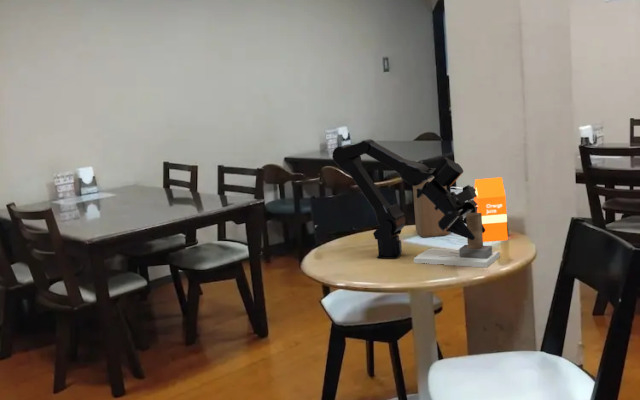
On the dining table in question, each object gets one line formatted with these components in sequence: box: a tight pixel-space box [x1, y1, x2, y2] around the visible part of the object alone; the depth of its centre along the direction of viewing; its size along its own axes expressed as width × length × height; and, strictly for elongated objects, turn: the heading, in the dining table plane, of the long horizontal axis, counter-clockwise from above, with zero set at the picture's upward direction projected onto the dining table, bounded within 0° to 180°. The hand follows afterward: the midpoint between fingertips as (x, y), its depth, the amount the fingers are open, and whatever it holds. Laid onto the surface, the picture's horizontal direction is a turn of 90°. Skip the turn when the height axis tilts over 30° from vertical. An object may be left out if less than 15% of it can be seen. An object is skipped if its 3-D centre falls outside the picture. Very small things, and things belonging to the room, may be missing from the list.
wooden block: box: [412, 177, 450, 238], centre depth 233 cm, size 10×10×20 cm
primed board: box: [413, 247, 500, 268], centre depth 198 cm, size 22×12×2 cm, turn 58°
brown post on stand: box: [458, 213, 493, 259], centre depth 193 cm, size 8×5×12 cm, turn 58°
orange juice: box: [473, 176, 509, 243], centre depth 218 cm, size 8×9×20 cm
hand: (479, 235), depth 193 cm, fingers open, 9 cm apart
